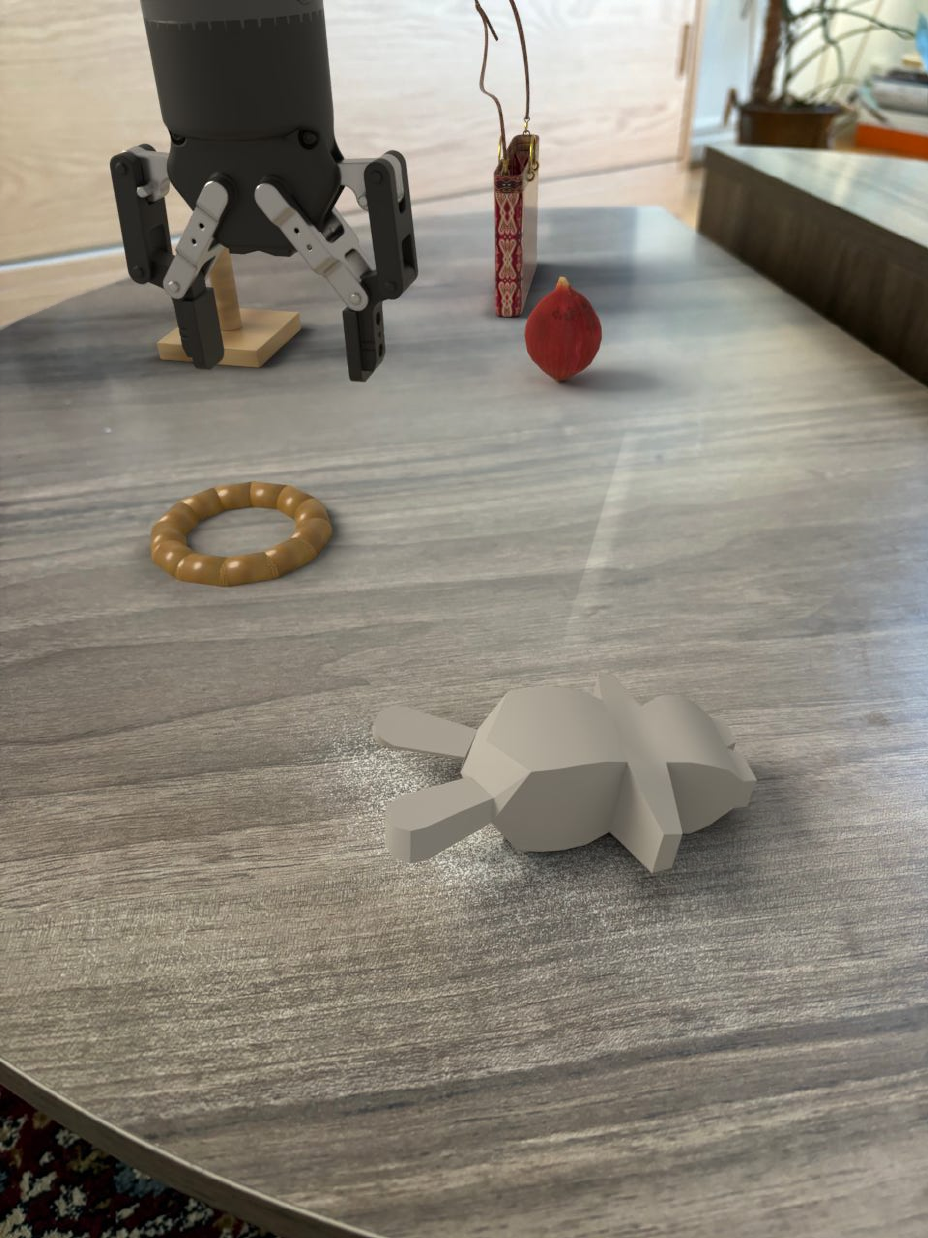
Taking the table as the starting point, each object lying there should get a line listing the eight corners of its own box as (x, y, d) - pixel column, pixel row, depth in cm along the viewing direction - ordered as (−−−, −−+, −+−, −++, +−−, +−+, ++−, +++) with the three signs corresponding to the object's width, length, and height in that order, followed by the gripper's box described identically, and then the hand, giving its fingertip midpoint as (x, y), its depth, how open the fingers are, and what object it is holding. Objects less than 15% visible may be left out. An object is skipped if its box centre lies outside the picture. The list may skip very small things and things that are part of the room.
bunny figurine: (797, 803, 37) (393, 823, 34) (760, 893, 40) (385, 917, 37) (709, 647, 44) (372, 653, 42) (683, 732, 47) (367, 743, 45)
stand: (160, 359, 83) (117, 159, 74) (209, 321, 90) (175, 134, 81) (259, 368, 81) (228, 164, 72) (301, 328, 88) (277, 137, 79)
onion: (613, 378, 78) (620, 275, 73) (568, 403, 74) (573, 296, 70) (554, 360, 81) (557, 260, 76) (509, 383, 78) (509, 280, 73)
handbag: (547, 250, 105) (554, -33, 90) (525, 321, 88) (530, -11, 73) (479, 249, 106) (475, -32, 91) (445, 319, 89) (433, -10, 74)
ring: (121, 585, 56) (112, 556, 55) (204, 496, 64) (199, 468, 63) (291, 610, 54) (286, 580, 53) (356, 514, 62) (353, 486, 61)
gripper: (421, -8, 43) (437, 353, 53) (128, -6, 46) (194, 334, 56) (363, 11, 37) (393, 413, 47) (32, 12, 40) (124, 388, 50)
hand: (285, 369), depth 51 cm, fingers open, 8 cm apart
